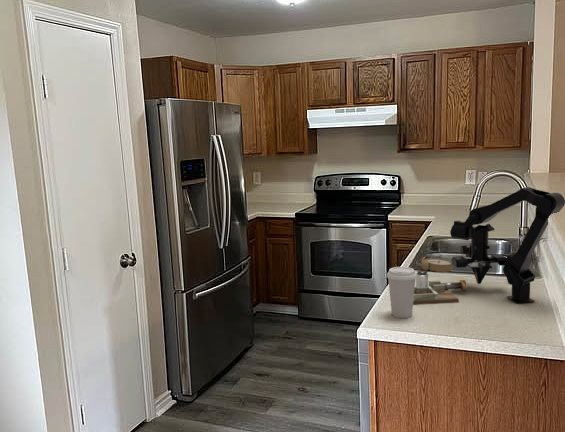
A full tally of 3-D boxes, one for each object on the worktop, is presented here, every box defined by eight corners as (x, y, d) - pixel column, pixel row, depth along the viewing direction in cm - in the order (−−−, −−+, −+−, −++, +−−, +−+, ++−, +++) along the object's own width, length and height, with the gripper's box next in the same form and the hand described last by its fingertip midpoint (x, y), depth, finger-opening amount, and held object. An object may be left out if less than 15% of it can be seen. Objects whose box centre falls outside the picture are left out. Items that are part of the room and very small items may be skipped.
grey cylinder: (417, 297, 178) (417, 273, 177) (414, 294, 182) (415, 270, 180) (428, 297, 178) (429, 273, 176) (425, 294, 182) (426, 270, 180)
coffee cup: (381, 315, 166) (380, 270, 164) (397, 307, 173) (397, 264, 170) (406, 322, 159) (406, 275, 157) (422, 313, 166) (422, 269, 164)
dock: (458, 302, 175) (458, 291, 175) (412, 304, 175) (412, 294, 175) (444, 289, 189) (444, 280, 189) (401, 292, 189) (401, 282, 189)
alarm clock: (453, 266, 211) (417, 259, 215) (451, 277, 212) (415, 270, 216) (452, 259, 222) (417, 253, 225) (449, 270, 223) (415, 263, 226)
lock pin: (466, 292, 184) (466, 281, 184) (441, 293, 184) (441, 282, 184) (462, 288, 188) (462, 278, 188) (437, 290, 188) (437, 279, 188)
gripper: (495, 236, 192) (494, 276, 194) (446, 238, 192) (446, 278, 194) (509, 242, 181) (508, 285, 183) (457, 245, 181) (456, 287, 183)
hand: (478, 283), depth 186 cm, fingers closed
